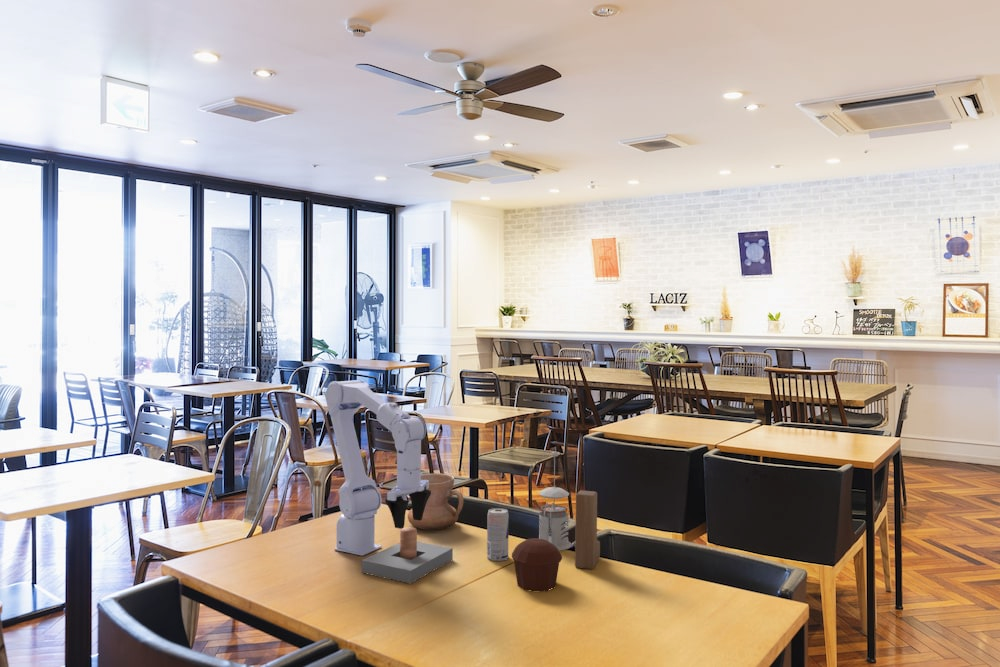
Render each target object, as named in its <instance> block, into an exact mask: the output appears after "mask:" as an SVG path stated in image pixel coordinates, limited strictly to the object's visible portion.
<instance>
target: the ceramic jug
mask: <svg viewBox="0 0 1000 667" xmlns="http://www.w3.org/2000/svg"><path fill="white" fill-rule="evenodd" d="M421 480H428V481H429V488H428V489H426V490H430V491H431V495H430V497H429V498H428V501H427V503H426V506H425V509H424V513H423V517H422V520H421V521H419V520H414V519H413V513H412V508H411V509H410V510H408V512H407V520H408V522H409V524H410V525H411V526H413V527H414V528H416V529H421V530H425V531H427V530H428V531H437V530H442V529H443V530H444V529H447V528H449V527H451V526H453V525H455V524H456V523H457V521H458V520H459V515H460V513H461V511H462V510H463V507H464V496H463V493H462V492H460V491H459V490H456V489H454V490H453V488H454V483H455V477H454V476H453V475H452V474H451V475H450V474H447V473H424V474H422V473H421ZM453 496H456V497H457V500H458V505H457V508H455V507H453V506H452V505H450V503H448V501H449V500H450V498H451V497H453Z"/></svg>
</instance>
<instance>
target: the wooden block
mask: <svg viewBox="0 0 1000 667" xmlns="http://www.w3.org/2000/svg"><path fill="white" fill-rule="evenodd" d="M597 531H598V492H597V491H592V490H591V491H590V490H581V489H580V490H579V491H578V492H577V493H576V494H575V533H574V534H575V538H574V539H575V542H574V544H575V546H574V548H575V550H574V552H575V553H574V556H575V557H574V566H575V568H577V569H579V568H580V569H586V570H593V569H594V568H595V567H596V564H597V563H598V561H599V560H600V557H601V541H600V540H598V532H597Z"/></svg>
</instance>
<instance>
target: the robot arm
mask: <svg viewBox="0 0 1000 667" xmlns="http://www.w3.org/2000/svg"><path fill="white" fill-rule="evenodd" d="M324 397H325V402H326V407H327V411H328V415H330V420H331V424H332V427H333V428H332V429H333V432H334V437H335V440H336V445H337V449H338V454H339V457H340V458H339V459H340V461H341V467H342V471H343V474H344V479H345V481H344V483H342V485H341V486H340V488H339V489H338V495H339V504H338V506H339V509H340V512H341V515H339V517H338V519H337V523H336V546H335V547H334V550H335V551H338V552H343V553H344V552H345V553H349V554H353V555H358V556H366V555H367V554H368V555H369V553H372V552H374V551H376V550H378V549H380V548H381V549H382V547H383V546H382V545H381V544H378V543H377V544H376V543H375V536H376V535H375V531H376V530H375V526H376V525H375V524H376V523H375V521H376V520H375V516H376V515H378V510H379V509H380V508H381V505H382V503H383V502H382V498H383V497H382V495H381V492H380V490H379V489H378V487H377V484H376V480H374V479H373V478H371V477H370V476H368V475H367V474H366V470H365V465H364V461H363V457H362V453H361V449H360V446H359V445H360V444H359V440H358V437H357V432H356V428H355V423H354V421H353V417H354V415H355V414H356V413H357V412H358V411H359V410H360V409H361V408H362V406H363V407H364V408H366V409H368V410H369V411H371V412H372V413H374V414H375V415H376V421H377V422H378V423H380V424H381V425H382V426H383V427H384V428H386V429H387V430H388V431H390V432H391V436H392V438H393V441H394V447H395V450H396V486H394V487H393V488H392V489H390V490H388V491H387V492H386V495H387V496H386V497H385V503H386V506H387V507H388V510H389V511H390V513H391V517H392V521H393V525H394V528H395V529H402V528H405V522H406V520H405V519H406V514H407V513H406V511H407V508H408V505H409V502H410V503H411V509H412V513H413V519H414V520H419V521H421V520H422V517H423V513H424V509H425V506H426V503H427V501H428V498H429V497H430V495H431V491H430V490H426V489H428V488H429V481H428V480H421V475H422V470H421V468H422V440H423V439H424V438H426V434H427V425H426V422H425V421H424V420H423V419H422V417H420V416H410V414H409V413H408V412H406V411H404V410H403V409H402V408H400V407H398V404H397V403H396V402H385V401H383V400H382V399H381V398H380V397H379V396H378V395H377V393H375V392H374V391H372V389H371V388H370V384H369V383H367V382H366V381H364V380H363V379H361V378H359V379H354V380H344V381H343V380H341V381H336V380H335V381H334V380H333V381H331V382H329V383H328V386H327V387H326V390H325V391H324ZM408 495H409V498H410V500H406V499H404V498H403V497H405V496H408Z"/></svg>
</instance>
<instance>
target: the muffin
mask: <svg viewBox="0 0 1000 667" xmlns="http://www.w3.org/2000/svg"><path fill="white" fill-rule="evenodd" d="M560 551H561V550H558V549H557V547H556V546H555V545H553V544H552V543H550V542H549V541H547V540H544V539H539V537H537V538H536V537H535V538H533V537H532V538H527V539H525V540H523V541H521V542H519V543H518V544H517V545H516V547H515V548H514V549H513V551H512V553H511V558H512V560H513V563H514V569H515V576H516V578H515V579H516V583H517V586H518V587H519V588H521V589H522V588H523V589H524V591H528V590H531V591H530V592H533V591H540V592H549V591H550V590H549V589H551V588H553V589H555V588H556V585H557V579H558V573H559V572H558V571H559V566H560V563H561V561H562V560H563V554H562V553H561V552H560ZM554 587H555V588H554ZM523 589H522V590H523ZM548 590H549V591H548ZM551 590H552V589H551Z"/></svg>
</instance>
